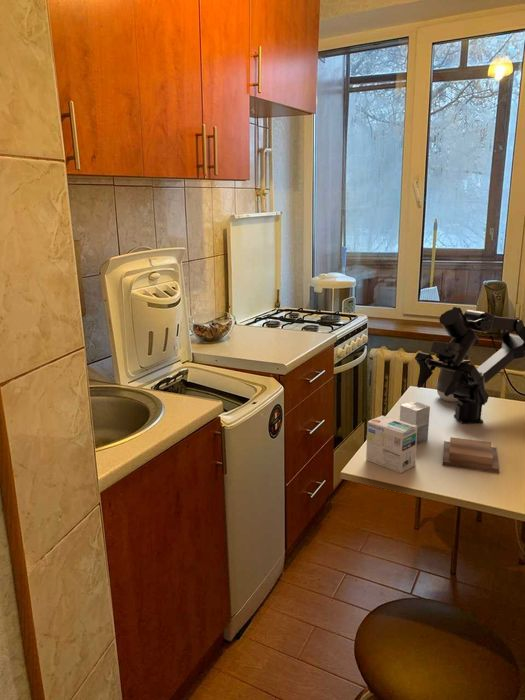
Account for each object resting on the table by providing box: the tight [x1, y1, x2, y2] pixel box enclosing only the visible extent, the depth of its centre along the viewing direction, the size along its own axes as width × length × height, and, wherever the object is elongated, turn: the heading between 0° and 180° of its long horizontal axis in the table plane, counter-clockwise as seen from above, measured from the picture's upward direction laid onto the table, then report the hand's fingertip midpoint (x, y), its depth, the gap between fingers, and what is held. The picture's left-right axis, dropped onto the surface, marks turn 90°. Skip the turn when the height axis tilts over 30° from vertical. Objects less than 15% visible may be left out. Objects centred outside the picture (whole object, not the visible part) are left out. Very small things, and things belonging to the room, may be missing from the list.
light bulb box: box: [365, 415, 418, 474], centre depth 135 cm, size 11×7×11 cm, turn 43°
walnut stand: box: [441, 437, 500, 474], centre depth 138 cm, size 13×13×3 cm
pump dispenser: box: [435, 359, 472, 403], centre depth 179 cm, size 10×10×15 cm
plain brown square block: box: [399, 400, 431, 446], centre depth 149 cm, size 6×6×10 cm
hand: (431, 391), depth 150 cm, fingers open, 9 cm apart
